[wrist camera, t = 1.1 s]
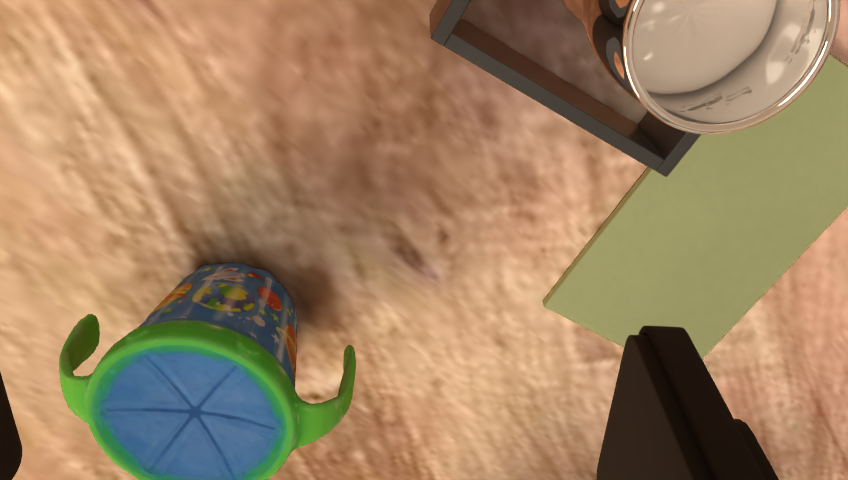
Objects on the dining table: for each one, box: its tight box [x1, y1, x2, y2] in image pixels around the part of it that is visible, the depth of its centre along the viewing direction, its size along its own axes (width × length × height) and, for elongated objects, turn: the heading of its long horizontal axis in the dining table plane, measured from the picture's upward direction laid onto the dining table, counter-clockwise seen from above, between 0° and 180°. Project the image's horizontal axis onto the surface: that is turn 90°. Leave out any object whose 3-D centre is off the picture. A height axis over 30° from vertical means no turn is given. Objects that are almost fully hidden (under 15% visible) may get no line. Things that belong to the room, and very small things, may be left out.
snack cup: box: [59, 263, 356, 480], centre depth 41 cm, size 16×10×10 cm
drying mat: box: [543, 54, 848, 359], centre depth 42 cm, size 20×11×1 cm, turn 150°
